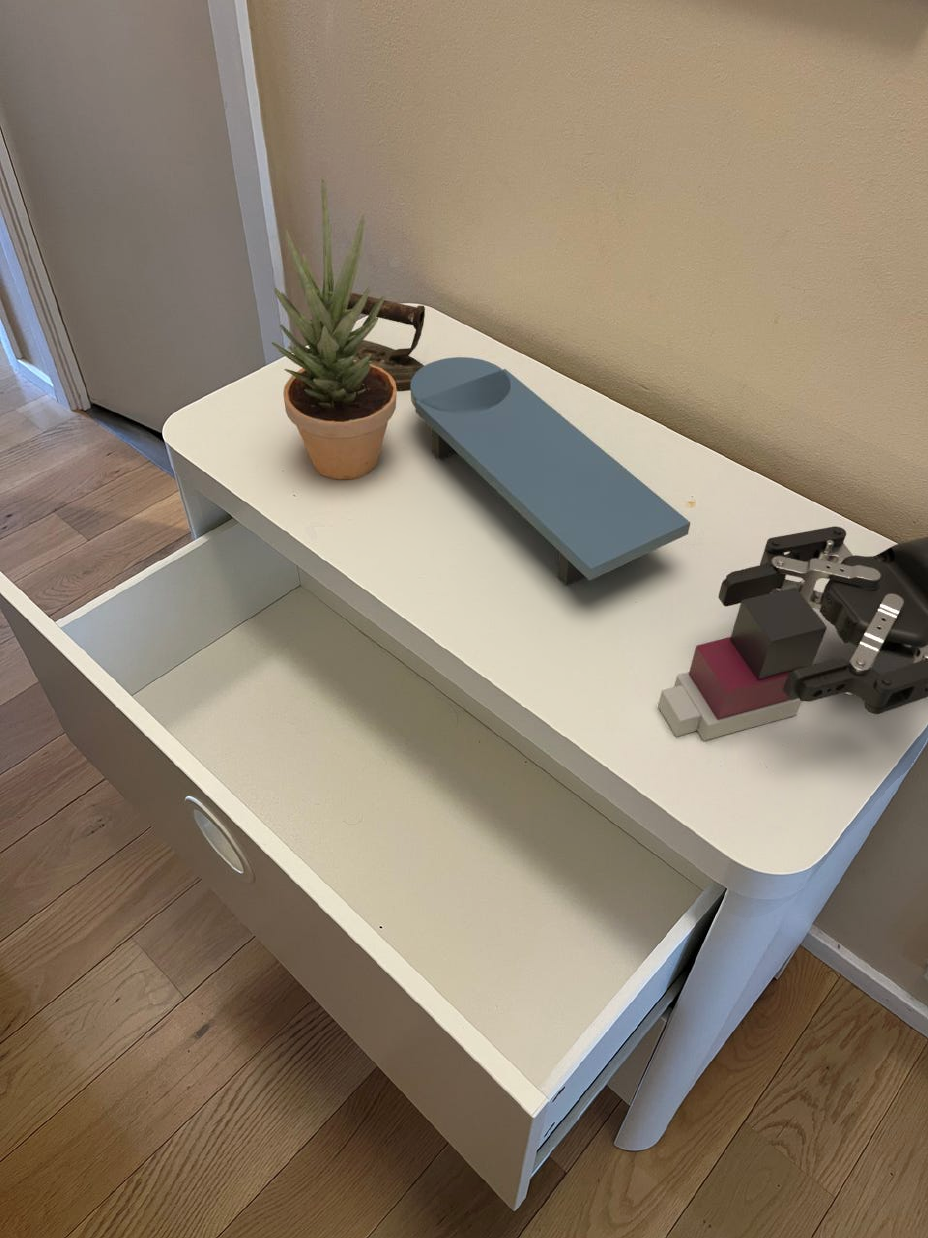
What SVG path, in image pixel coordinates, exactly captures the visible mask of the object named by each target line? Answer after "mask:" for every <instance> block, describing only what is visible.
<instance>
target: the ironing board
mask: <svg viewBox="0 0 928 1238" xmlns="http://www.w3.org/2000/svg"><path fill="white" fill-rule="evenodd" d="M409 390H410V391H409V392H410V401H411V404H412V405H413V407H414V409H415V410H414V411H415V413H416V415H417V416H418V417H420V418H421V419H422V420H423V421H424V422H425V423H426V424H427V425H428V426H429V427H430V428H431V429H430V430H431V453H432V454H433V455H434V456H435V458H437V459H438V460H442V459H444V458H447V457H450V456H452V455H454V454H458V455H459V456H460V457H461V458H462V459H463V460H464V461H465V462H466V463H467V464H468V465H469V466H470V467H471V468H472V469H473V470H475V472H476V473H478V474H479V476H480V477H482V478H483V479H484V480H485V481H486V482H487V483H488V484H489V485H490V486H491V487H492V488H493V489H494V490H495V491H496V492H497V493H498V494H499V495H500V496H502V498H503V499H504V500H506V502H507V503H508V504H509V505H510V506H512V507H513V508H514V509H515V510H516V511H517V512H518V513H519V514H520V515H521V516H522V517H523V518H524V519H525V520H526V521H527V522H528V523H529V524H530V525H531V526H532V527H533V528H534V529H535V530H536V531H538V533H540V534H541V536H543V537H544V538H545V539H546V540H547V541H548V542H549V543H550V544H551V545H552V546H553V547H554V548H555V549H556V550H557V551H558V552H559V554H558V555H559V556H558V564H557V575H556V577H557V579H558V580H559V581H560V582H561V583H563V585H564V586H569V585H571V584H573V583H575V582H577V581H579V580H582V579H584V578H586V579H587V580H588V581H593V580H595V579H597V578H598V577H601V576H602V575H605V574H607V573H609V572H611V571H614V570H615V569H617V568H620V567H621V566H624V565H626V564H629V563H630V562H632V561H634V560H637V559H638V558H641V557H643V556H645V555H647V554H650V553H651V552H653V551H655V550H657V549H660V548H662V547H664V546H666V545H668V544H671V543H673V542H674V541H677V540H679V539H681V538H683V537H685V536H687V535H689V531H690V527H691V521H689V520H688V519H687V518H686V517H685V516H683V514H681V513H679V512H678V511H677V510H676V509H675V508H674V507H672V506H671V505H670V504H669V503H667V502H666V501H665V499H663V498H662V497H661V496H659V495H658V494H657V493H656V492H654V491H653V490H652V489H651V488H650V487H648V486H647V485H646V484H645V483H643V481H641V480H640V479H639V478H638V477H637V476H636V475H634V474H633V473H631V472H630V471H629V469H627V468H626V467H624V466H623V465H622V464H621V463H619V462H618V461H617V460H616V459H614V457H613V456H611V455H610V454H609V453H607V452H606V451H605V450H604V449H602V447H600V446H599V445H598V444H597V443H595V441H593V440H592V439H591V438H589V436H587V435H586V434H585V433H583V432H582V431H581V430H579V429H578V428H577V427H576V426H575V424H573V423H572V422H570V421H569V420H568V419H567V418H565V417H564V416H563V415H562V414H560V413H559V412H558V411H557V410H556V409H554V408H553V407H552V406H551V405H549V404H548V403H547V402H546V401H545V400H543V399H542V398H541V397H540V396H538V394H536V393H535V392H534V391H533V390H531V389H530V388H529V387H528V386H527V385H525V384H524V383H523V382H522V381H521V380H519V379H518V378H517V377H516V376H515V375H513V374H512V373H511V372H510V371H509V370H508V369H506V368H502V367H500V366H499V365H496V364H495V363H492V362H490V361H487V360H485V359H481V358H476V357H468V356H466V357H465V356H456V357H455V356H454V357H447V358H441V359H438V360H434V361H432V362H429V363H428V364H426V365H424V367H422V368H421V369H419V370H418V371H417V372H416V373H415V375H414V376H413V378H412V380H411V384H410V389H409Z"/></svg>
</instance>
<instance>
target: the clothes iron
mask: <svg viewBox="0 0 928 1238" xmlns="http://www.w3.org/2000/svg"><path fill="white" fill-rule="evenodd" d="M362 296H363V294H359V293H355V292H352V291H351V295H350V299H349V302H348V306H347V309H346V310H348V309H352V308H353V307H354V306H355V305H356V304H357V302H358V301H359V300H360V299H361V297H362ZM380 299H381V298H377V297H373V296H369V295H368V297H367V301H366V303H365V306H364V308H363V310H362V311H361V313H360V315H365V316H369V314H370V312H371V311H372V309H373V308H374V307H375V305H376V304H377V302H378V301H379V300H380ZM425 315H426V306H424V305H417V306H412V305H407V304H403V303H399V302H394V301H391V300H385V299H384V301H383V304H382V306H381V308H380V310H379V312H378V314H377V316H376V318H377V317H378V319H383V320H387V321H390V322H396V323H399V324H404V325H408V326H413V328H414V329H415V332H414V335H413V337H412V338H413V339H412V341H411V346H410V347H409V348H397V349H395V348H392V347H389V346H386V345H383V344H380V343H376V342H373V341H370V340H366V339H363V340H362V342H361V344H360V346H359V348H358V351H357V353H356V355H355V358H354V360H357V361H358V360H361V359H362V358H364V357H366V356H367V355H368V354H371V356H370V358H369V360H368V361H372V363H371V364H372V365H375V366H377V367H380V368H382V369H383V370H384V371H386V372H387V373H388V374H390V375H391V377H392V378H393V380H394V381H395V384H396V389H397V391H407V390H410V384H411V380H412V378H413V376H414V375H415V373H416V372H417V371H418V370H419V369H421V368H422V367H424V366H425V365H424V364H423V363H421V362H420V361H419V360H417V359H416V358H414V357H412V356H411V354H412V352H414V350H415V349H416V348H417V346H418V344H419V341H420V339H421V336H422V331H423V328H424V324H425V317H426V316H425Z"/></svg>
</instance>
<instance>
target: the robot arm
mask: <svg viewBox="0 0 928 1238" xmlns="http://www.w3.org/2000/svg"><path fill="white" fill-rule="evenodd" d="M846 536H847V530H845V529H844V528H843V527H840V526H836V525H835V526H830V527H824V528H818V529H817V528H816V529H812V530H807V531H801V532H795V533H789V534H784V535H779V536H774V537H769V538H768V539H767V541H766V542H765V546H764V550H763V553H762V556H761V560H760V563H759V565H755V566H750V567H747V568H746V567H745V568H742V569H740V570H733V571H731V572H729V573H728V574H727V575H726V576H725V578H724V579H723V581H722V582H721V585H720V588H719V593H718V600H719V602H721V604H722V605H723V606H724V607H731V606H734V605H738V604H739V605H740V604H741V601H742V600H745V599H749V598H754V597H758V596H762V595H766V594H770V593H774V592H778V591H782V590H786V589H790V588H794V587H796V588H797V590H798V591H799V592H800V593H801V595H802V596H803V597H804V598H805V600H806V601H807V602H808V604H809V605H810V606H811V607H812V609H815V610H819V613H820V614H821V615H822V616H823V618H824V619H825V620H826V621H827V622H828V623H829V624H831V625H832V626H834V628H835V630H836V632H837V635H838V637H839V638H840V639H841V641H842V642H843V643H844V644H850V645H852V646H853V647H856V649H855V650H854V653H853V654H852V656H851V658H850V660H849V661H846V660H845V658H844V657H843V656H841V657H837V658H833V659H829V660H826V661H823V662H822V661H821V662H819V663H813V664H812V665H810V666H807V667H803V668H799V669H796V670H794V671H792V672H791V673H790V674H789V675H788V677H787V680H786V682H785V685H784V687H783V691H784V693H785V694H786V696H787V697H788V698H789V700H794V699H798V698H799V699H800V700H801V701H802V702H805V703H807V702H809V703H810V702H814V701H818V700H821V699H824V698H828V697H833V696H836V695H841V694H843V693H844V694H845V695H849V696H856V697H858V698H859V699H860V700H862V701H863V702H864V703H863V706H864V708H865V710H867V712H869V713H871V714H873V715H880V714H883V713H886V712H889V711H892V710H895V709H897V708H900V707H904V706H906V705H909V704H911V703H915V702H918V701H920V700H923V699H926V698H928V536H924V537H921V538H915V539H912V540H909V541H904V542H900V543H896V544H894V545H892V546H890V547H889V548H887V549H885V550H883V551H881V552H880V553H878V554H875V555H872V556H866V555H865V556H864V555H859V554H858V555H853V553H852V552H851V551H850V550H849V548H848V547H847V546H846V544H845V543H844V542H845V539H846ZM787 576H791V577H795V578H799V579H802V580H801V581H795V580H790V579H786V577H787ZM821 579H827V580H828V581H827V583H826V584H825V586H824V588H823V590H822V591H816V590H815V586H816V583H817V581H818V580H821ZM880 654H884V655H890V656H894V657H898V658H902V659H907V660H912V659H913V661H912V663H910V664H908V665H905V666H902V667H898V668H896V669H893V670H890V671H887V672H885V673H881V674H879V673H878V672H876V671H875V670H874V669H872V668H873V666H874V665H875V663H876V661H877V658H878V657H879V655H880Z"/></svg>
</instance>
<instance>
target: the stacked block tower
mask: <svg viewBox="0 0 928 1238" xmlns="http://www.w3.org/2000/svg"><path fill="white" fill-rule="evenodd" d="M827 630H828V626H827V625H826V624H825V622H824V621H823V620H822V618H821V617H820V616H819V615H818V613H817V612H816V611H815V610H814V608H812V607H811V606H810V605H809V604H808V602H807V601H806V600H805V598H804V597H803V596H802V595H801V593H800V592H799V591H798V590H797V588H796V587H794V588H790V589H786V590H782V591H778V592H774V593H770V594H766V595H762V596H758V597H754V598H749V599H745V600H742V601H741V603H740V604H739V608H738V611H737V615H736V617H735V621H734V625H733V628H732V631H731V634H730V636H729V637H725V638H721V639H716V640H712V641H709V642H705V643H701V644H697V645H696V646H695V648H694V653H693V656H692V660H691V664H690V667H689V671H687V672H684V673H680V674H677V675H676V677H675V682H674V686H673V687H670V688H665V689H662V690H661V692H660V697H659V699H658V700H659V701H658V705H657V706H658V708H659V710H660V712H661V714H662V716H663V717H664V719H665V721H666V722H667V724H668V726H669V727H670V730H671V731H672V733H673V734H674V736H675V737H680V736H684V735H687V734H691V733H695V732H697V733H698V735H699V737H700V738H701V740H702V741H703V742H705V741H708V740H712V739H715V738H719V737H723V736H726V735H730V734H734V733H737V732H741V731H744V730H748V729H751V728H755V727H759V726H762V725H767V724H771V723H773V722H777V721H780V720H785V719H787V718H791V717H795V716H797V714H798V711H799V709H800V707H801V705H802V702H803V701H801V700H800V699H799V698H798V699H794V700H789V698H788V697H787V696H786V694H785V693H784V691H783V687H784V685H785V682H786V680H787V677H788V675H789V674H790V673H791V672H792V671H794V670H796V669H799V668H803V667H807V666H810V665H813V664H814V661H815V658H816V656H817V653H818V652H819V648H820V646H821V644H822V642H823V639H824V637H825V634H826V632H827Z"/></svg>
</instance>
